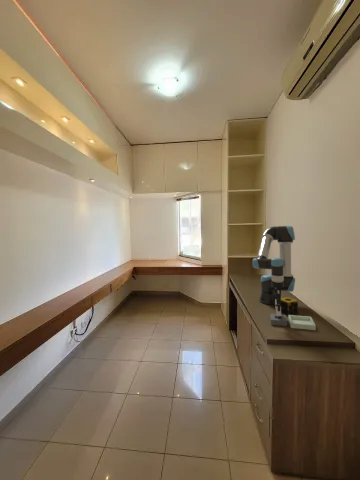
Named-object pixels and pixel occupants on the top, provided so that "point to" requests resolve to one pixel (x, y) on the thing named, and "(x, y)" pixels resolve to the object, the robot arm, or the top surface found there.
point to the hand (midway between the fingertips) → (278, 311)
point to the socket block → (278, 320)
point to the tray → (301, 322)
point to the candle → (289, 306)
